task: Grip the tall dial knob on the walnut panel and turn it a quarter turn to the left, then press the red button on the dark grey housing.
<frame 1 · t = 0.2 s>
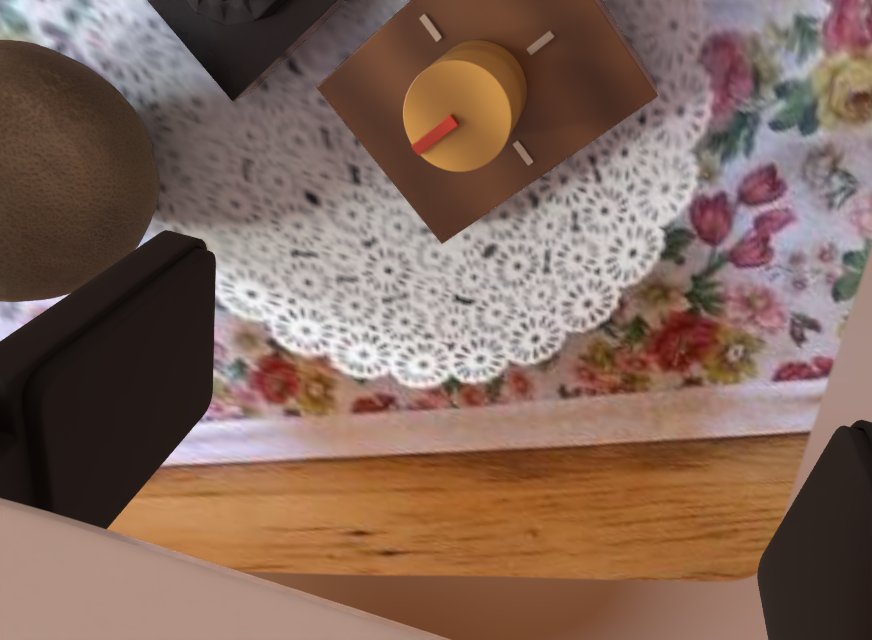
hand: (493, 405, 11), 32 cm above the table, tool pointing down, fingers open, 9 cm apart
dial knob: (467, 104, 35), point 6 cm above the table, hinge at 0.0°
knob panel: (488, 79, 41), on the table
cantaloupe: (110, 136, 48), on the table
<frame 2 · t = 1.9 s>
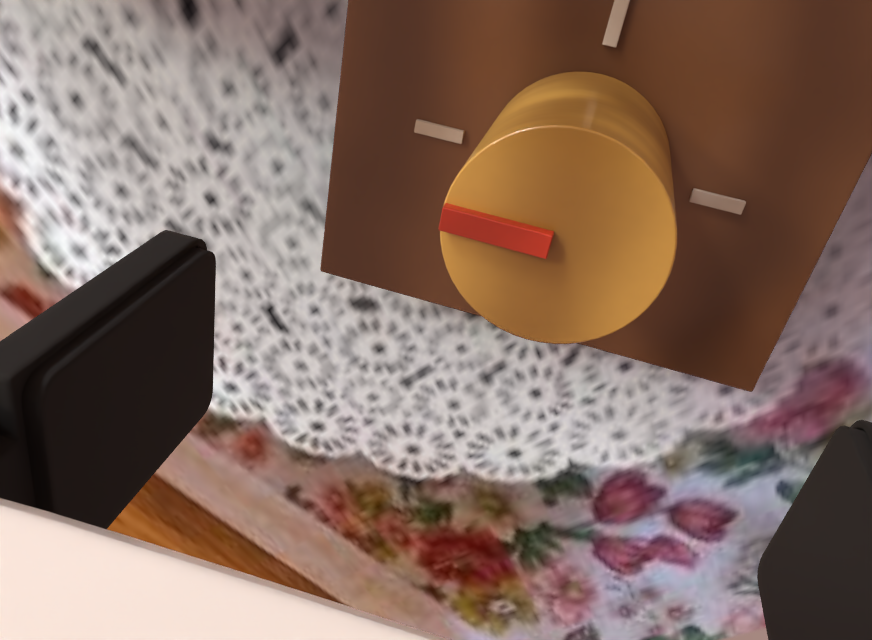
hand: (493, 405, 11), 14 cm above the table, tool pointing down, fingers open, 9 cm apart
dial knob: (565, 201, 18), point 6 cm above the table, hinge at 0.0°
knob panel: (583, 135, 23), on the table
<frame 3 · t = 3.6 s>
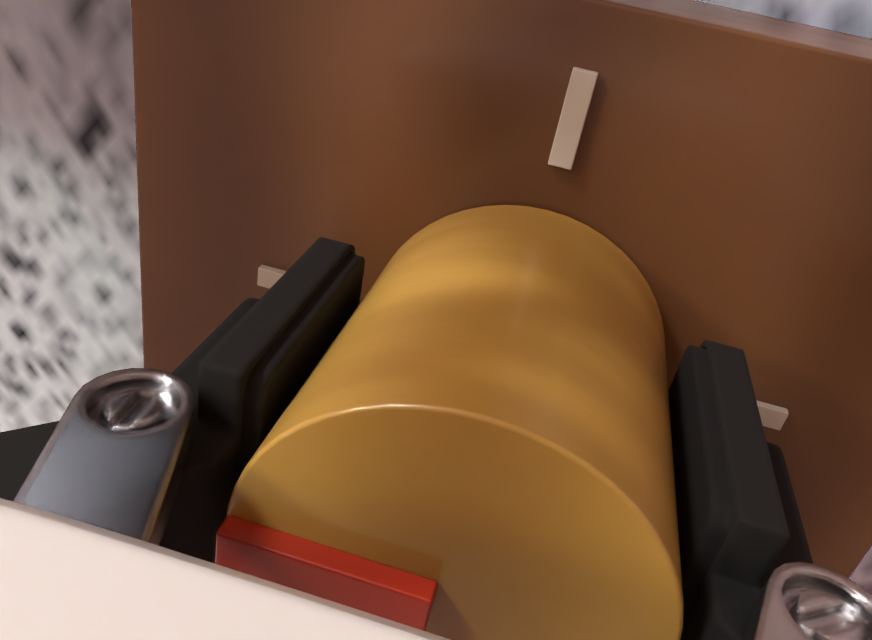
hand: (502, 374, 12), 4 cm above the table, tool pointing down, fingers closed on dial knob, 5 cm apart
dial knob: (481, 448, 10), point 6 cm above the table, hinge at -0.2°, touching gripper
knob panel: (532, 269, 15), on the table
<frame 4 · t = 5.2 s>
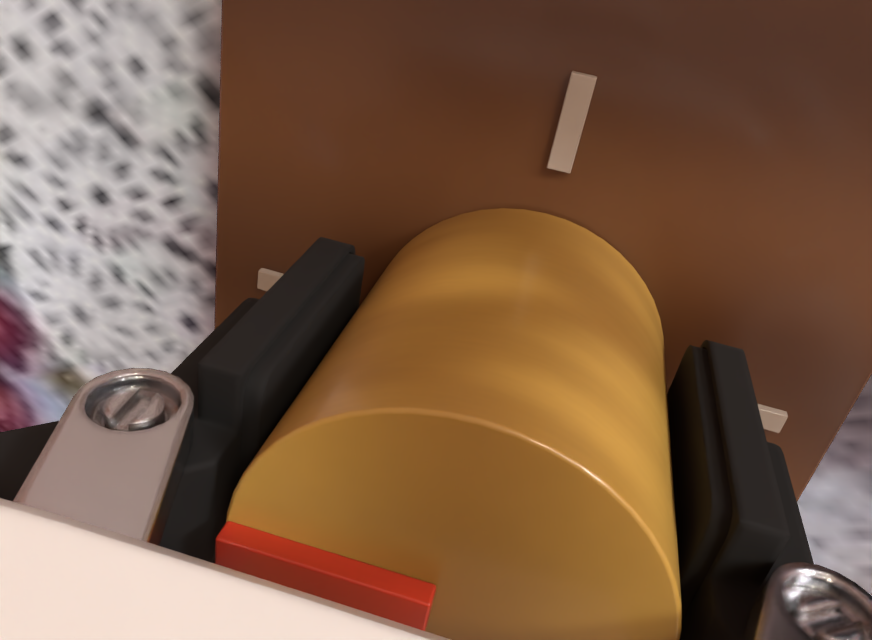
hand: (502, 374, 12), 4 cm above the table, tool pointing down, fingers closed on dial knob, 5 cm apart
dial knob: (480, 451, 10), point 6 cm above the table, hinge at 90.6°, touching gripper
knob panel: (531, 272, 15), on the table
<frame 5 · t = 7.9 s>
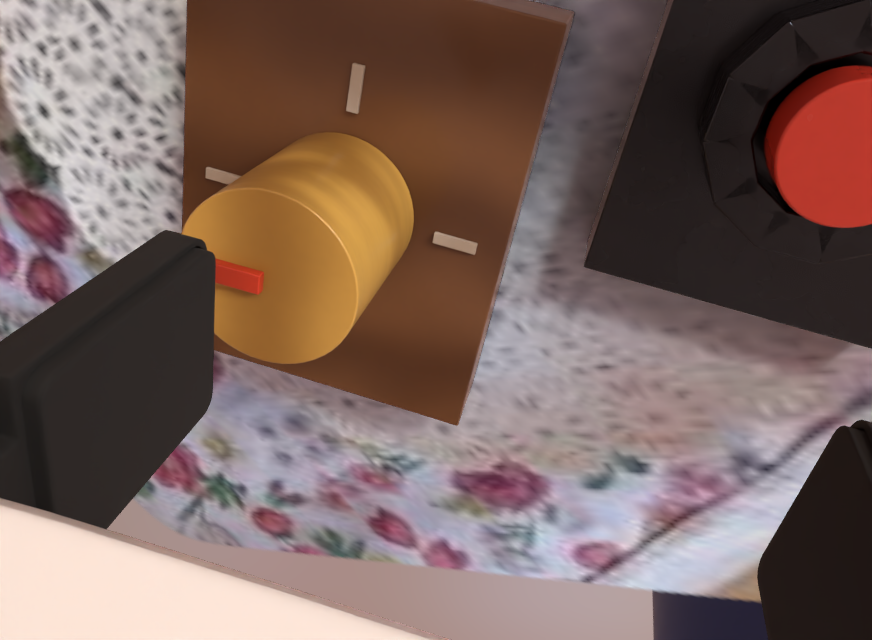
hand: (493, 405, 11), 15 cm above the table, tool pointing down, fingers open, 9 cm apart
dial knob: (304, 243, 21), point 6 cm above the table, hinge at 91.1°
red button: (848, 147, 18), point 4 cm above the table, slide at 0.1 cm
button box: (811, 107, 22), on the table
knob panel: (368, 180, 26), on the table
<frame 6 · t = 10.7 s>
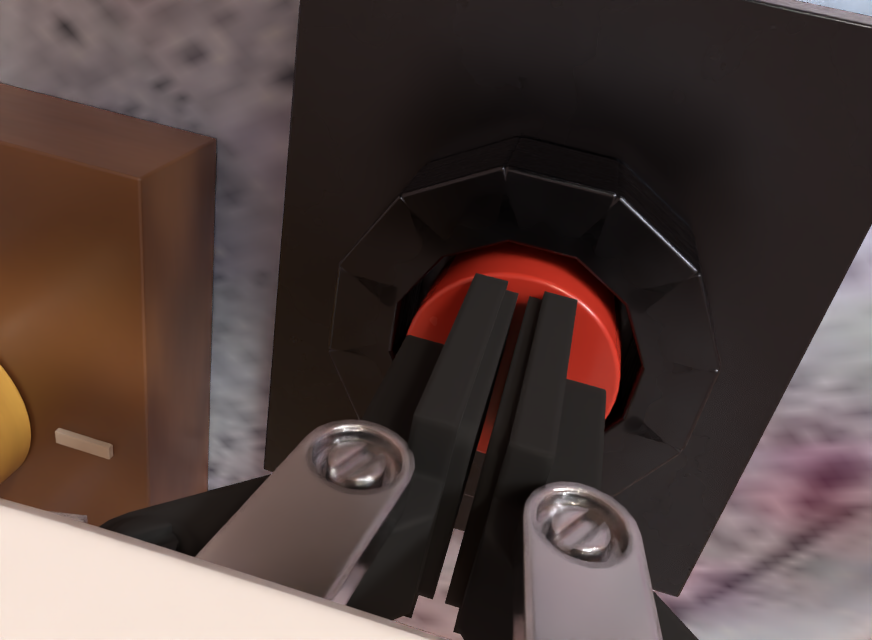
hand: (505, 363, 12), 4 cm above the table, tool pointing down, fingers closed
red button: (515, 347, 13), point 4 cm above the table, slide at -0.8 cm, touching gripper
button box: (537, 265, 16), on the table
knob panel: (27, 335, 20), on the table
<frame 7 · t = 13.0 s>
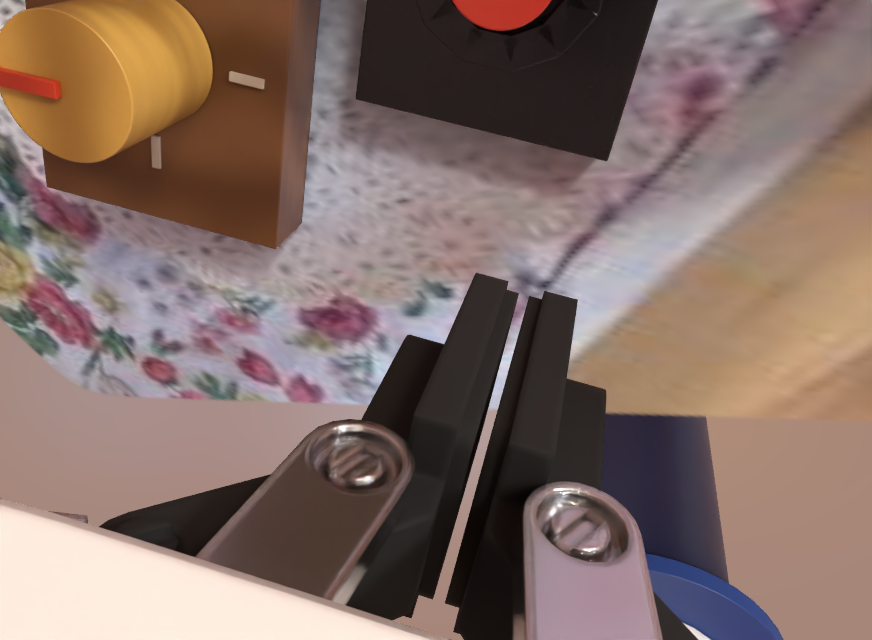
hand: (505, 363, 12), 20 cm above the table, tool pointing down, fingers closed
dial knob: (109, 72, 26), point 6 cm above the table, hinge at 91.1°
knob panel: (192, 42, 31), on the table
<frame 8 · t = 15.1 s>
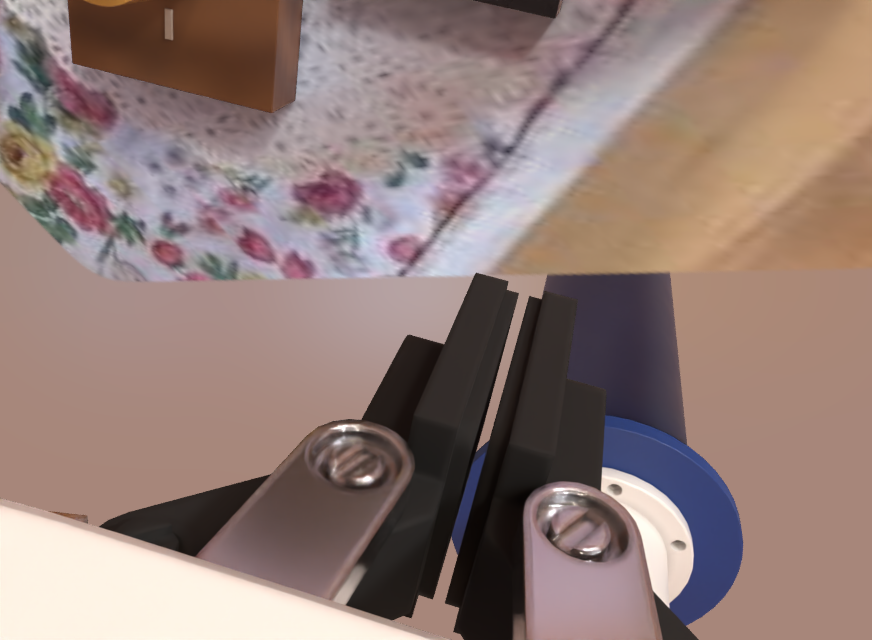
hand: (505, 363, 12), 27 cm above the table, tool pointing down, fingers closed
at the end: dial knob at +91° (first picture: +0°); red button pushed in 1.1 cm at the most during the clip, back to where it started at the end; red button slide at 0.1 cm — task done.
